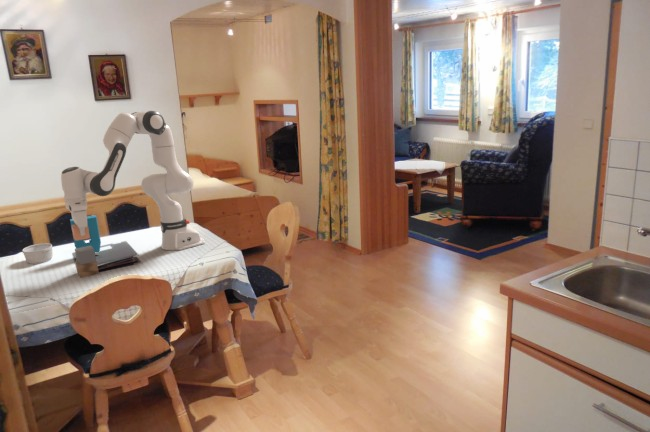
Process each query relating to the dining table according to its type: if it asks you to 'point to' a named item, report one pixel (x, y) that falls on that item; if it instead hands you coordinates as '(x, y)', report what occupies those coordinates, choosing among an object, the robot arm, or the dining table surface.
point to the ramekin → (38, 253)
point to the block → (94, 234)
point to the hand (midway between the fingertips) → (81, 233)
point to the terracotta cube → (77, 233)
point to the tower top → (85, 255)
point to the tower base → (87, 269)
